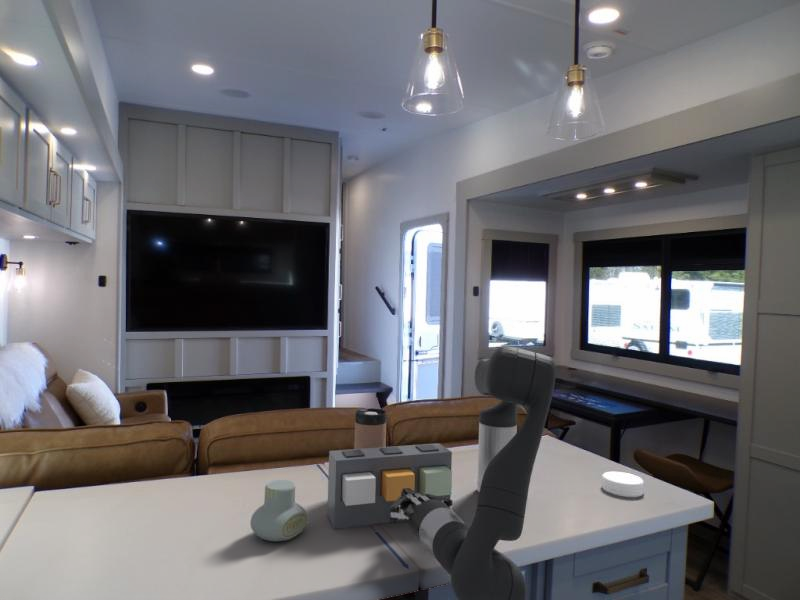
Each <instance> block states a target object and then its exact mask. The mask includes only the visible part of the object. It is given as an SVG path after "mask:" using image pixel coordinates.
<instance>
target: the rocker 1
mask: <svg viewBox="0 0 800 600" xmlns="http://www.w3.org/2000/svg"><path fill="white" fill-rule="evenodd" d="M375 488H376V478H375V477H374V475H373V474H372V473H371V472H370V471H365V472H353V473H342V474H341V498H342V500H343V501H344V503H345V505H346V506H349V505H358V504H368V503H375Z"/></svg>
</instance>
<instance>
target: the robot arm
mask: <svg viewBox="0 0 800 600" xmlns="http://www.w3.org/2000/svg"><path fill="white" fill-rule="evenodd" d="M556 369H557V367H556V363H555V361H554V359H553V358H552V357H550V356H548V355H545V354H543V353H538V352H534V351H532V350H527V349H522V348H518V347H514V346H509V345H508V346H506V345H502V346H499V347H498V348H497V349H495V350H494V352H493V353H492V354H491V357H489V358H482V359H480V360H479V361H478V362H477V365H476V367H475V369H474V385H475V387H476V390H477V392H478V393H479V394H480V395H482V396H483V395H484V396H489V397H491V398H494V399H496V400H499V401H500V402H499V403H497V404H495V405H492V406H490V407H486V408H483V409H481V410H480V412H479V417H478V419H479V420H478V422H479V423H478V449H477V451H478V452H477V453H478V457H477V482H476V484H477V488H476V489H477V493H478V497H477V498H478V499H477V503H476V510H475V514H474V518H473V520H472V522H471V524H470V525H469V526H470V527H468V526H467V525H466V524H465V522H464V521H463V519H462V518H461V517H460V516H459V515H458V514H457V513H455V512H454V511H453V503H454V502H453V499H451V498H450V499H446V498H442V497H438V496H435V495H431V494H425V495H424V496H422V495H421V494H419V493H416V492H415V491H414V490H412V489H411V488H403V491H401V497H399V498H398V499H397V500H396V501H395V502H394V503H393V504H392V506H391V507H390V521H392V522H391V523H396V522H395V521H397V519H403V520H404V521H403V522H404V523H405V524H407V525H409V526H410V528H411V530H412V533H413V534H414V536H415V537H416V538H417V540H419V542H420V543H421V545H422V546H423V547H424V548H425V549H426V551H427V552H428V554H429V555H431V556H432V557H433V558H434V559H435V560H437V562H438V563H439V565H440V566H441V567H442V568H443V569H444V571H445V572H446V573H448V574H449V576H450V581H451V582H450V583H451V588H452V591H453V594H454V596H455V597H456V599H457V600H526V598H527V590H528V588H527V582H526V579H525V577H524V574H523V572H522V570H521V569H520V567H519V566H518V565H517V564H516V563H515V562H514V561H513V560H512V559H510V558H509V557H508V556H507V555H506V554H503V553H502V552H501V551H498V550H497V549H496V548H495V547H496V546H497V544H498V542H500V541H505V542H513V541H517V540H518V539H520V537H521V535H522V533H523V529H524V524H525V517H526V509H527V503H528V502H527V501H528V495H529V488H530V483H531V479H532V478H531V477H532V474H533V469H534V467H535V462H536V457H537V455H538V451H539V448H540V444H541V441H542V437H543V435H544V434H543V433H544V429H545V425H546V421H547V418H548V415H549V410H550V406H551V402H552V399H553V394H554V390H555V383H556V375H557V374H556V373H557V372H556V371H557V370H556ZM518 406H523V407H525V408H527V413H526V416H525V418H524V421H523V423H522V425H521V427H520V428H519V430H518V429H517V427H518V424H517V423H518ZM405 508H406V510H405Z"/></svg>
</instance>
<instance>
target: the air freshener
mask: <svg viewBox="0 0 800 600" xmlns="http://www.w3.org/2000/svg"><path fill="white" fill-rule="evenodd" d="M250 517H251V518H250V528H251V530H252V531H253V533H254V534H255V536H257V537H258V538H260V539H262V540H265V541H268V542H286V541H289V540H291V539H293V538H295V537H297V536H298V535H299V534H301V532H302V531H303V530H304V529H305V528H306V525H307V523H308V514H307V512H306V510H305V508H304V507H303V506H302V505H301V504H299V503H298V502H296V484H295V483H294V482H293V481H291V480H286V479H278V480H272V481H270V482H268V483H267V484H265V486H264V503H263V504H262V505H261V506H259V507H258V508H257V509H256V510H255V511H254V512H253V514H252V515H251V516H250Z"/></svg>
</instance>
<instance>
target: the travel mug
mask: <svg viewBox="0 0 800 600" xmlns="http://www.w3.org/2000/svg"><path fill="white" fill-rule="evenodd" d="M354 420H355V421H354V445H353V447H354V448H353V449H364V448H379V447H387V445H386V443H387V411H386V410H384V409H379V408H368V409H366V410H362V411H361V410H360V409H357V410H356V411H355V419H354Z"/></svg>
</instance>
